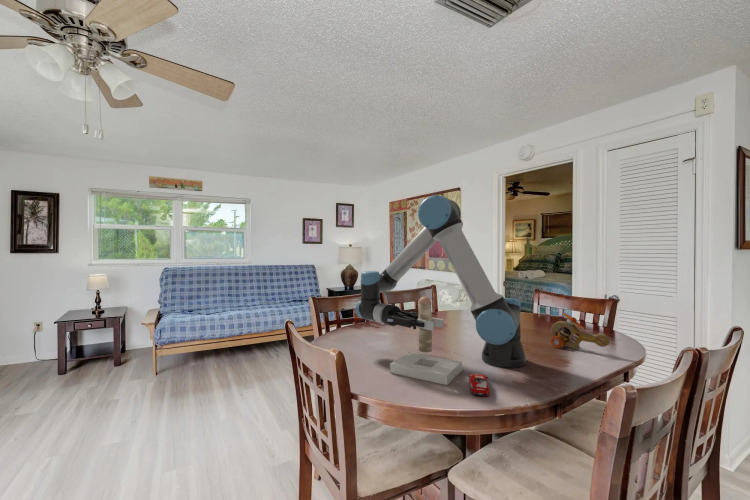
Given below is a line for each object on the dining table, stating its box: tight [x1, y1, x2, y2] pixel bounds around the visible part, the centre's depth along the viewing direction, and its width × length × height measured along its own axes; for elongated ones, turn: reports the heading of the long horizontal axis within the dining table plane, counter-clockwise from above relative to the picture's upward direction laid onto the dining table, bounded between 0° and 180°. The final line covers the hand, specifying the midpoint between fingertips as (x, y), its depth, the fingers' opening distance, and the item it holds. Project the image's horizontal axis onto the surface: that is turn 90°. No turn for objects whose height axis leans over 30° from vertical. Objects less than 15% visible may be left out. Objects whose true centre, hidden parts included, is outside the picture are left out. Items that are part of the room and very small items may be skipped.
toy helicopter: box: [550, 312, 611, 351], centre depth 134 cm, size 8×21×14 cm, turn 39°
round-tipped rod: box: [417, 295, 433, 353], centre depth 114 cm, size 4×4×18 cm
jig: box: [389, 351, 463, 386], centre depth 114 cm, size 20×14×3 cm
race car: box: [468, 373, 491, 397], centre depth 101 cm, size 13×5×4 cm, turn 166°
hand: (438, 325), depth 110 cm, fingers closed on round-tipped rod, 4 cm apart
